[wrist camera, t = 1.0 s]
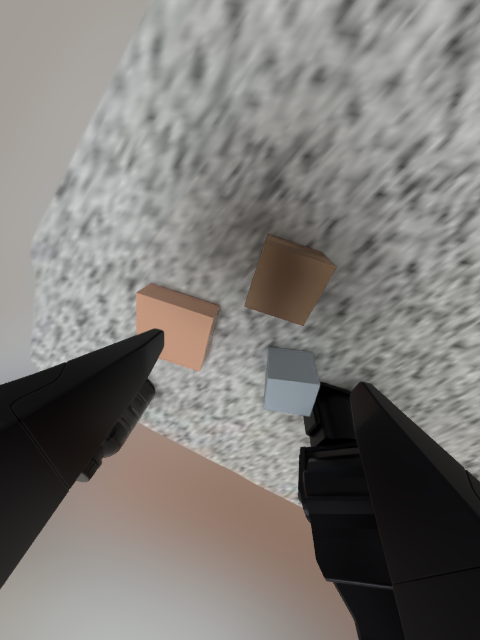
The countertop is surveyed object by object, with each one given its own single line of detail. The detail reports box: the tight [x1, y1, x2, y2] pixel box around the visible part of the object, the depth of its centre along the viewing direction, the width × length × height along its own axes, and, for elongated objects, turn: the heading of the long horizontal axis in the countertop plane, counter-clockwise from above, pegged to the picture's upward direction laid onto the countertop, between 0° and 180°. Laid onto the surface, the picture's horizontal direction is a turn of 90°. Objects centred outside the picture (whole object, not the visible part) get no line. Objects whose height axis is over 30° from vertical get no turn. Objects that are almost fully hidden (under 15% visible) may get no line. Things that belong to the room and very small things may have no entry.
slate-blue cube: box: [264, 347, 320, 416], centre depth 22 cm, size 5×5×5 cm
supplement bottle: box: [76, 380, 154, 482], centre depth 26 cm, size 7×7×12 cm
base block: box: [136, 284, 220, 371], centre depth 23 cm, size 8×8×3 cm
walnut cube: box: [244, 234, 336, 326], centre depth 16 cm, size 5×5×5 cm
